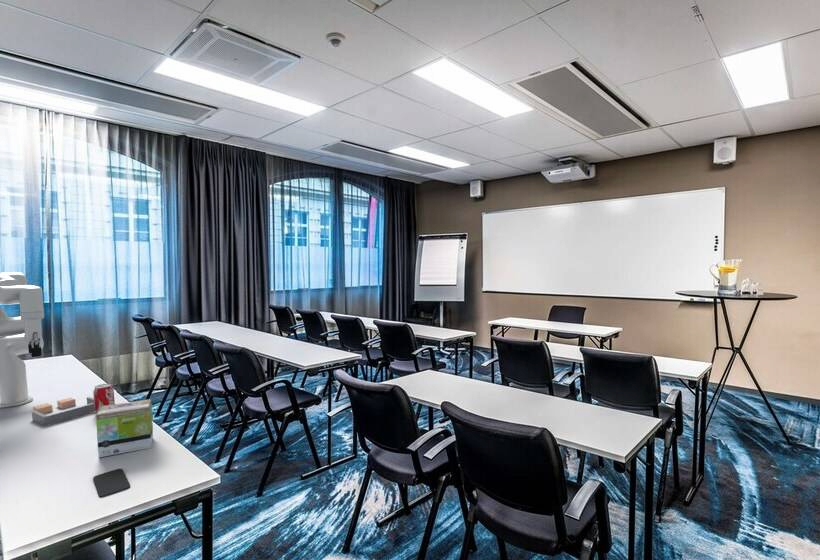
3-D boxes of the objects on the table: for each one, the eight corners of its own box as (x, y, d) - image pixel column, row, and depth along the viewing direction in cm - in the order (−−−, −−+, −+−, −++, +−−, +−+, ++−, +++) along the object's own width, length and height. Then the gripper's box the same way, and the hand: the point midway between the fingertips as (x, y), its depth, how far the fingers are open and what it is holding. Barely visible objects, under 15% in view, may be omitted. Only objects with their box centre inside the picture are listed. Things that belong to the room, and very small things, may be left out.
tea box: (98, 459, 138) (94, 415, 137) (103, 447, 147) (100, 405, 146) (151, 448, 145) (148, 406, 144) (154, 437, 154) (151, 397, 153)
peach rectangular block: (57, 407, 190) (57, 400, 190) (71, 404, 194) (70, 397, 194) (62, 409, 187) (61, 402, 187) (75, 405, 191) (75, 399, 191)
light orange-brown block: (33, 413, 183) (33, 406, 183) (48, 409, 187) (47, 403, 187) (38, 415, 180) (37, 408, 180) (52, 411, 184) (52, 405, 184)
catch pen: (32, 420, 175) (31, 411, 174) (90, 404, 192) (89, 396, 192) (45, 425, 168) (44, 417, 168) (103, 409, 185) (102, 401, 185)
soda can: (104, 417, 176) (102, 388, 175) (90, 416, 177) (88, 388, 176) (119, 410, 183) (117, 383, 182) (105, 410, 184) (103, 382, 183)
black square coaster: (98, 497, 115) (92, 476, 126) (99, 500, 115) (92, 479, 126) (131, 486, 120) (122, 467, 131) (131, 489, 120) (122, 469, 131)
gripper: (18, 314, 185) (21, 352, 187) (23, 318, 174) (25, 359, 175) (41, 312, 191) (43, 349, 192) (46, 316, 179) (49, 356, 180)
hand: (35, 354), depth 184 cm, fingers open, 9 cm apart
